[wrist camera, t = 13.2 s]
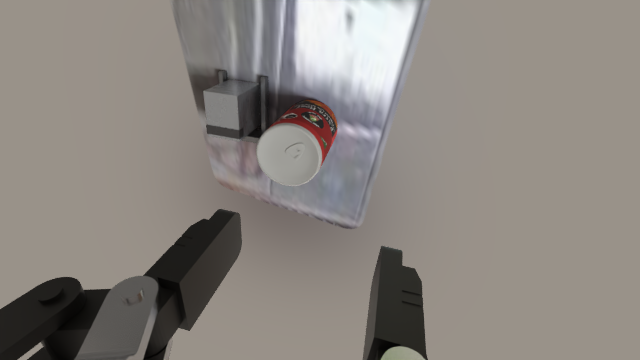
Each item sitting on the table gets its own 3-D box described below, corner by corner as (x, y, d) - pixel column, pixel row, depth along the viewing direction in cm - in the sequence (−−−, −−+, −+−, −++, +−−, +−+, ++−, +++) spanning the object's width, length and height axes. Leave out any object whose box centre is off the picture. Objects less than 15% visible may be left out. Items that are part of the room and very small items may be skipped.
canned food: (349, 118, 42) (334, 150, 33) (319, 159, 47) (298, 198, 37) (302, 86, 42) (274, 110, 32) (277, 131, 46) (245, 163, 37)
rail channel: (222, 70, 43) (211, 74, 41) (268, 76, 42) (259, 81, 40) (227, 129, 48) (217, 136, 45) (268, 136, 47) (260, 143, 44)
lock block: (230, 79, 44) (202, 91, 38) (260, 83, 43) (237, 96, 37) (232, 119, 47) (207, 136, 41) (261, 124, 46) (239, 142, 40)
